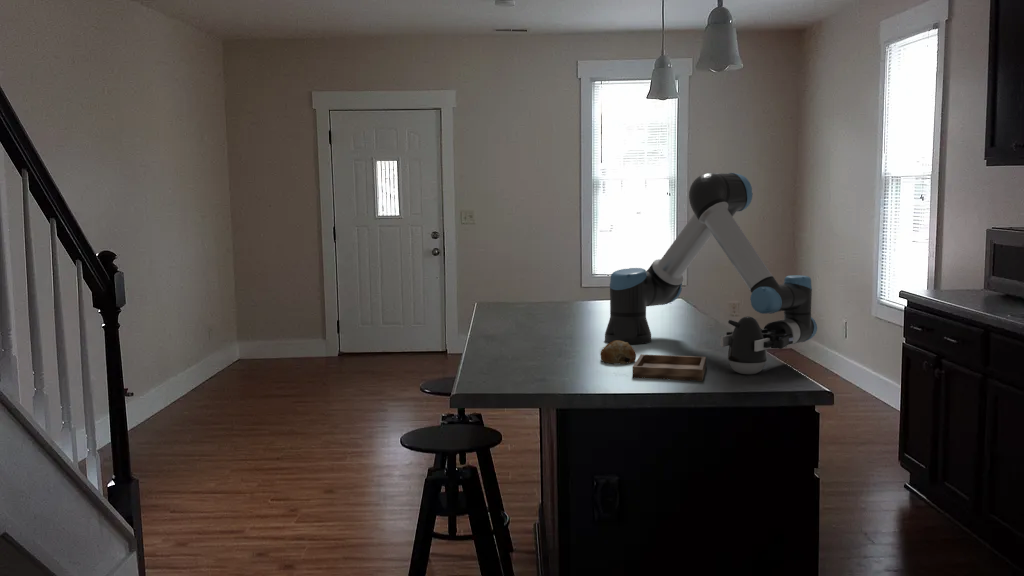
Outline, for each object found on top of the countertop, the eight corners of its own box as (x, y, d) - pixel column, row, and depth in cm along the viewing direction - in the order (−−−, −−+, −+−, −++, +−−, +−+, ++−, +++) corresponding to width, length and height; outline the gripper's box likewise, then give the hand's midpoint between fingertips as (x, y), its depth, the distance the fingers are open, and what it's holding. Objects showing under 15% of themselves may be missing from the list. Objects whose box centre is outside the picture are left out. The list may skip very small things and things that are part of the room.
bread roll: (609, 377, 251) (615, 354, 247) (591, 357, 259) (597, 334, 255) (637, 373, 256) (644, 351, 252) (619, 353, 264) (626, 331, 260)
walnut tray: (632, 377, 233) (632, 366, 232) (640, 364, 250) (640, 354, 250) (702, 381, 228) (702, 369, 228) (705, 367, 245) (706, 356, 245)
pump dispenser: (721, 369, 242) (722, 314, 241) (758, 368, 243) (759, 313, 241) (733, 377, 232) (734, 319, 230) (772, 375, 233) (773, 318, 231)
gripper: (817, 351, 242) (776, 363, 226) (745, 342, 257) (702, 352, 242) (818, 324, 241) (777, 334, 225) (745, 316, 257) (702, 325, 241)
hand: (738, 344), depth 234 cm, fingers closed on pump dispenser, 9 cm apart
